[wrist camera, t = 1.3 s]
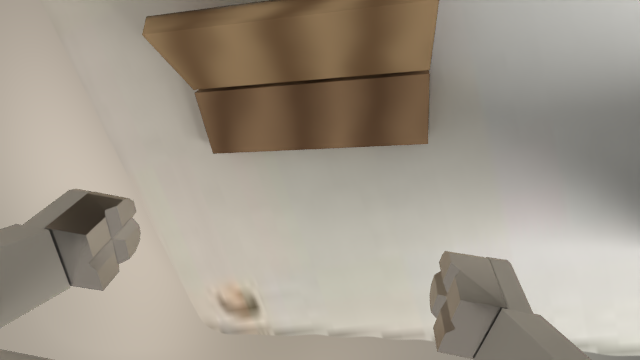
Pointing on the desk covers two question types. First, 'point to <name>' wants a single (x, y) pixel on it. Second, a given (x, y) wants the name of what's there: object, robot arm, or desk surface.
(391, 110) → the laid board
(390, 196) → the desk surface
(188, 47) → the plank
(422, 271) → the desk surface
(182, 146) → the desk surface
